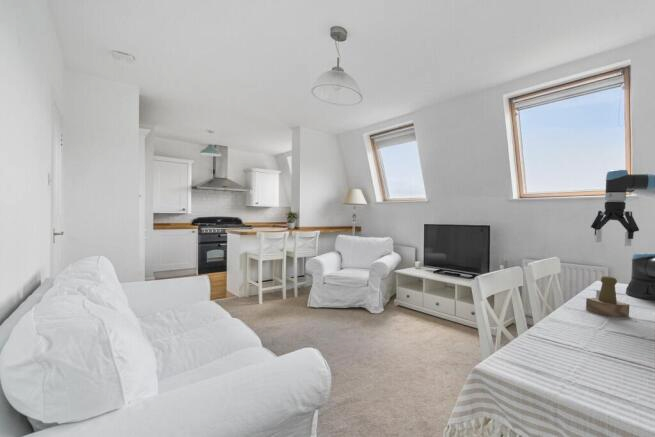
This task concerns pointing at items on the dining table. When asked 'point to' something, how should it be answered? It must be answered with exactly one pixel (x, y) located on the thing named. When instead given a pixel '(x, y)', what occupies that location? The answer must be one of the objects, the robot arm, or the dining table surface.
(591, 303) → the walnut block
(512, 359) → the dining table surface
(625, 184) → the robot arm
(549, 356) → the dining table surface
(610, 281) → the cork
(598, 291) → the slate block
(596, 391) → the dining table surface
